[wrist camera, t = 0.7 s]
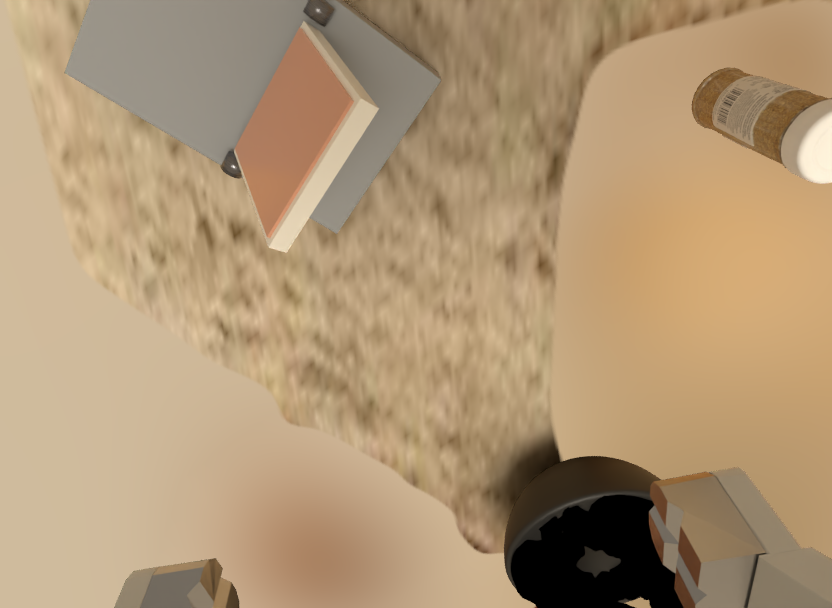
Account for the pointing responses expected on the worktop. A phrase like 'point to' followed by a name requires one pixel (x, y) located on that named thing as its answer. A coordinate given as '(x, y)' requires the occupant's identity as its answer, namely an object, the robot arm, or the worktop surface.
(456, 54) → the worktop surface
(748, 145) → the sprinkles bottle
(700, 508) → the robot arm
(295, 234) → the tile
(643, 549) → the coal bowl
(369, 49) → the stand
